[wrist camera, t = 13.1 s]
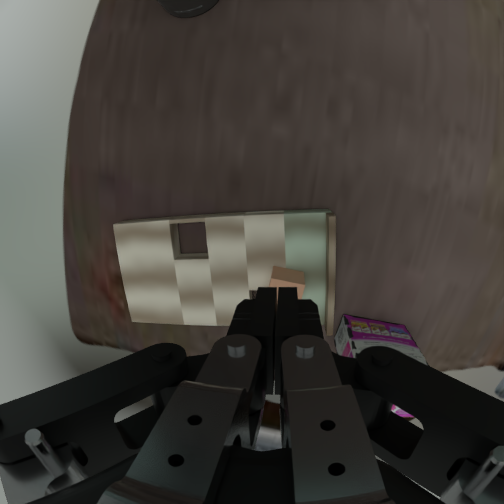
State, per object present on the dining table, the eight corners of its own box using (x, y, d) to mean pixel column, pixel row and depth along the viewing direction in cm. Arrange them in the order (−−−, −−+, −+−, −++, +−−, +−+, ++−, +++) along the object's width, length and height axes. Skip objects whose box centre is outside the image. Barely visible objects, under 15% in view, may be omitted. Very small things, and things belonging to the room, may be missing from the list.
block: (273, 265, 39) (271, 278, 35) (303, 271, 39) (305, 285, 35) (267, 293, 40) (264, 308, 36) (296, 299, 40) (297, 315, 36)
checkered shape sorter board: (123, 220, 43) (101, 229, 37) (328, 209, 39) (335, 216, 33) (140, 313, 47) (123, 330, 42) (327, 314, 43) (332, 335, 38)
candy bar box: (332, 340, 45) (346, 416, 29) (342, 313, 43) (364, 384, 27) (394, 350, 44) (426, 419, 28) (406, 324, 42) (445, 390, 27)
